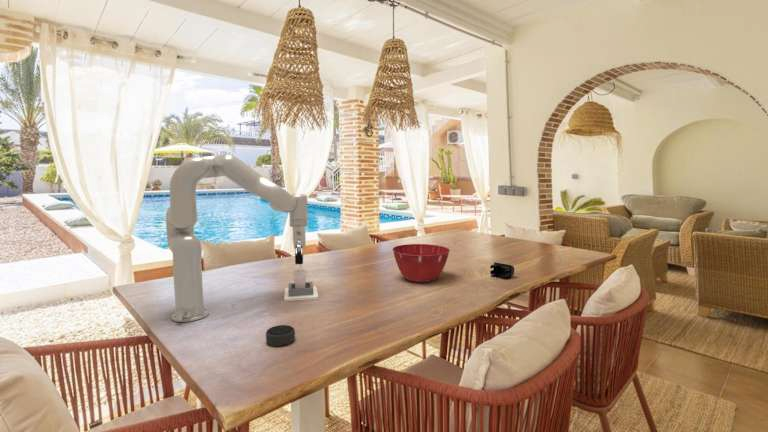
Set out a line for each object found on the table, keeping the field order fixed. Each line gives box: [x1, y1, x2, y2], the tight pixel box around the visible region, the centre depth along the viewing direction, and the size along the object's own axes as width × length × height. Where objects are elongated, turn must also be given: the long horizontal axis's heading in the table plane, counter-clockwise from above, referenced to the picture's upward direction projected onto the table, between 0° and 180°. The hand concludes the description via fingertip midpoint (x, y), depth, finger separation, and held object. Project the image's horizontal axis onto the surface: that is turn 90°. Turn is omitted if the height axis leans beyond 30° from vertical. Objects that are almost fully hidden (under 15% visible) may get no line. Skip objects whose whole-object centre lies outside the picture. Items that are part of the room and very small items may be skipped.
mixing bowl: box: [392, 243, 451, 284], centre depth 201 cm, size 28×28×15 cm
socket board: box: [283, 281, 319, 302], centre depth 178 cm, size 16×14×4 cm
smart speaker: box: [265, 324, 296, 347], centre depth 129 cm, size 9×9×4 cm
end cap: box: [489, 262, 515, 281], centre depth 204 cm, size 10×7×7 cm
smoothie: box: [292, 264, 308, 289], centre depth 177 cm, size 6×6×14 cm
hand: (299, 261), depth 176 cm, fingers open, 9 cm apart
